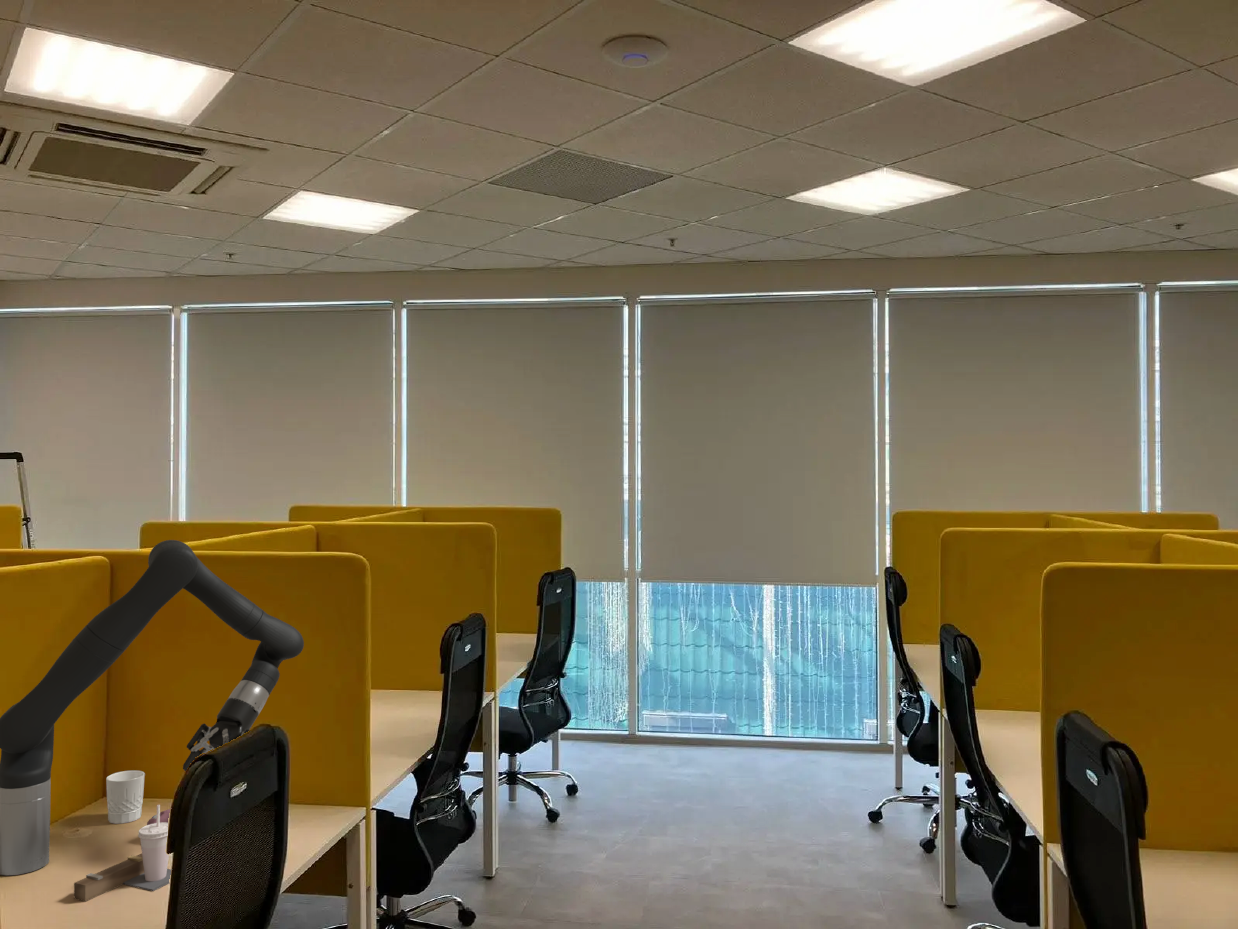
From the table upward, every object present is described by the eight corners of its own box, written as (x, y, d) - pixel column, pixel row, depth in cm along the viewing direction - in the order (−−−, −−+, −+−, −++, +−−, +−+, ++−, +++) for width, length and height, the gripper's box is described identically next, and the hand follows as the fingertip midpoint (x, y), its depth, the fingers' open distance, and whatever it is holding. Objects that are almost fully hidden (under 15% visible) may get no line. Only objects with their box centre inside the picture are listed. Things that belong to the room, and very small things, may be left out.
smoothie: (180, 871, 182) (181, 801, 182) (161, 885, 176) (162, 812, 176) (150, 869, 183) (151, 800, 183) (130, 883, 176) (131, 811, 176)
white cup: (110, 814, 214) (110, 772, 214) (147, 811, 216) (147, 769, 216) (101, 826, 206) (102, 782, 206) (140, 823, 208) (140, 779, 209)
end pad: (122, 884, 177) (122, 882, 177) (157, 868, 184) (157, 866, 184) (152, 891, 174) (152, 889, 174) (186, 874, 181) (187, 873, 181)
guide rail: (73, 898, 170) (73, 880, 170) (146, 865, 185) (146, 849, 185) (85, 901, 169) (85, 883, 169) (157, 868, 184) (158, 851, 184)
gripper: (210, 694, 201) (165, 760, 190) (259, 700, 195) (217, 768, 184) (228, 712, 205) (186, 778, 194) (277, 718, 200) (236, 787, 189)
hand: (201, 773), depth 189 cm, fingers open, 8 cm apart
